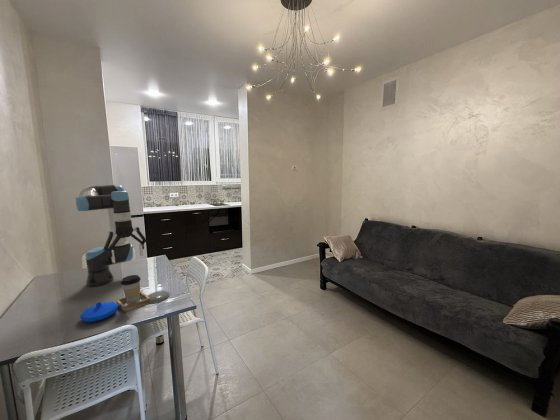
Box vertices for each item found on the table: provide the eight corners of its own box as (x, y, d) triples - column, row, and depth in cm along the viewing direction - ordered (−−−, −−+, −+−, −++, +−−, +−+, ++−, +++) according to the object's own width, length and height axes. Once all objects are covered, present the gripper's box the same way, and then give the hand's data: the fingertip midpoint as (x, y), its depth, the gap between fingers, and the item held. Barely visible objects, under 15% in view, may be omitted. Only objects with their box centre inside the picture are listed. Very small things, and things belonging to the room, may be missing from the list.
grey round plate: (140, 298, 143) (140, 297, 143) (163, 290, 153) (163, 289, 153) (149, 306, 135) (149, 304, 135) (173, 296, 144) (173, 295, 144)
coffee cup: (134, 308, 133) (131, 282, 130) (119, 307, 135) (116, 281, 132) (147, 299, 142) (144, 274, 140) (133, 298, 144) (129, 273, 142)
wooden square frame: (116, 304, 138) (116, 300, 137) (141, 295, 147) (141, 291, 147) (124, 312, 129) (124, 307, 129) (150, 302, 139) (150, 298, 138)
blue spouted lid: (99, 307, 135) (97, 295, 134) (125, 308, 134) (124, 296, 133) (72, 325, 120) (69, 311, 119) (102, 326, 118) (100, 312, 117)
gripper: (96, 225, 120) (102, 267, 123) (150, 217, 138) (154, 253, 141) (92, 223, 124) (98, 264, 128) (145, 216, 143) (149, 251, 146)
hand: (128, 258), depth 134 cm, fingers open, 13 cm apart
